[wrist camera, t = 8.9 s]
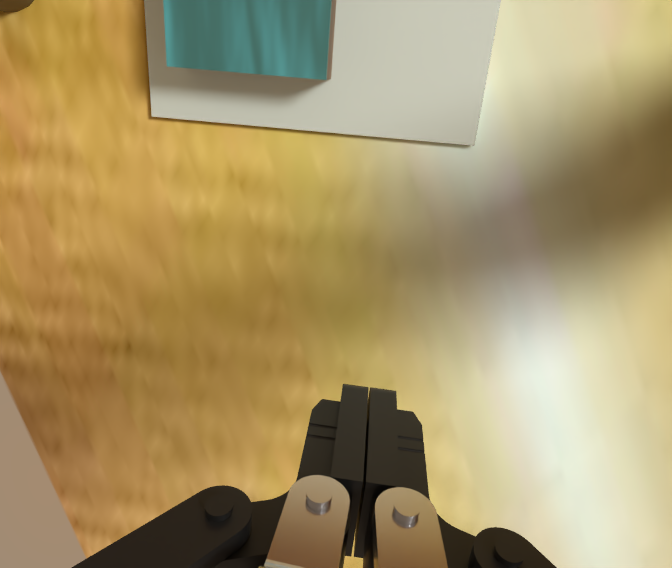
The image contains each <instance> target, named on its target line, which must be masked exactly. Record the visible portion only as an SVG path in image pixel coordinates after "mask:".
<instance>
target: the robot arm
mask: <svg viewBox="0 0 672 568" xmlns="http://www.w3.org/2000/svg"><path fill="white" fill-rule="evenodd" d="M355 529H356V532H355ZM354 535H355V547H354V557H360V558H363V568H556V567H555V566H554V565H553V564H552V563H551V562H550V561H549V560H548V559H547V558H546V557H545V556H544V555H542V554H541V553H540V552H539V551H538V550H537V549H536V548H535V547H534V546H533V545H532V544H531V543H530V542H528V541H527V540H526V539H525V538H524V537H522V536H521V535H519V534H517V533H515V532H513V531H511V530H508V529H504V528H497V527H494V528H487V529H485V530H482V531H481V532H480V533H478V535H477V536H476V537H475V536H473V535H471V534H468V533H466V532H464V531H461V530H459V529H457V528H455V527H453V526H451V525H450V524H448V523H447V522H445V521H444V520H443V519H442V518H441V517H440V516H439V515H438V514H437V512H436V509H435V507H434V505H433V504H432V503H431V501H430V499H429V492H428V482H427V472H426V462H425V454H424V442H423V432H422V425H421V423H420V422H419V420H418V419H417V417H416V416H415V414H414V413H413V412H411V411H404V410H397V399H396V391H392V390H385V389H378V388H370V391H369V397H368V387H363V386H355V385H348V384H343V388H342V395H341V402H339V401H332V400H324V399H322V400H321V401H320V402H319V403H318V404H317V405H316V406H315V407H314V408H313V409H312V413H311V417H310V422H309V426H308V431H307V436H306V440H305V445H304V449H303V454H302V458H301V463H300V468H299V472H298V477H297V480H296V482H295V483H294V484H293V485H292V487H291V488H290V490H289V491H288V492H286V493H285V494H283V495H281V496H279V497H277V498H274V499H270V500H265V501H257V502H251V501H250V499H249V498H248V496H247V495H246V494H245V493H244V492H242V491H241V490H239V489H237V488H234V487H231V486H214V487H210V488H207V489H204V490H202V491H200V492H199V493H197V494H195V495H194V496H192V497H190V498H189V499H187V500H185V501H184V502H182V503H180V504H178V505H177V506H175V507H173V508H172V509H170V510H168V511H167V512H165V513H163V514H162V515H160V516H158V517H156V518H155V519H153V520H151V521H150V522H148V523H146V524H145V525H143V526H141V527H140V528H138V529H136V530H134V531H133V532H131V533H129V534H128V535H126V536H124V537H123V538H121V539H119V540H118V541H116V542H114V543H112V544H111V545H109V546H107V547H106V548H104V549H102V550H101V551H99V552H97V553H96V554H94V555H92V556H90V557H89V558H87V559H85V560H84V561H82V562H80V563H79V564H77V565H75V566H74V567H72V568H343V564H344V558H345V556H351V553H352V547H353V541H354Z"/></svg>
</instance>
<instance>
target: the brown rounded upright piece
mask: <svg viewBox="0 0 672 568" xmlns="http://www.w3.org/2000/svg"><path fill="white" fill-rule="evenodd" d="M33 1H34V0H0V11H4V12H14V11H19V10H21V9H24V8H26V7H28V6H29V5H30V4H31V3H32V2H33Z"/></svg>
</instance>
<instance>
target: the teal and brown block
mask: <svg viewBox="0 0 672 568" xmlns="http://www.w3.org/2000/svg"><path fill="white" fill-rule="evenodd" d="M163 5H164V25H165V44H166V63H167V67H179V68H191V69H202V70H214V71H226V72H237V73H249V74H261V75H272V76H284V77H296V78H307V79H319V80H329V79H331V73H332V58H333V43H334V29H335V14H336V0H163Z"/></svg>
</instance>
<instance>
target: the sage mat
mask: <svg viewBox="0 0 672 568" xmlns="http://www.w3.org/2000/svg"><path fill="white" fill-rule="evenodd" d="M500 2H501V0H336V14H335V29H334V43H333V58H332V73H331V79H329V80H319V79H307V78H296V77H284V76H272V75H261V74H249V73H237V72H226V71H214V70H202V69H191V68H179V67H167V63H166V44H165V25H164V5H163V0H144V6H145V21H146V37H147V52H148V67H149V83H150V98H151V114H152V117H163V118H174V119H185V120H196V121H207V122H218V123H229V124H240V125H251V126H262V127H273V128H285V129H296V130H307V131H318V132H329V133H340V134H351V135H362V136H373V137H384V138H395V139H406V140H417V141H428V142H439V143H450V144H461V145H472V146H474V145H475V140H476V134H477V129H478V123H479V118H480V112H481V107H482V101H483V96H484V90H485V85H486V79H487V74H488V68H489V63H490V57H491V52H492V46H493V41H494V35H495V30H496V24H497V19H498V13H499V8H500Z"/></svg>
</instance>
